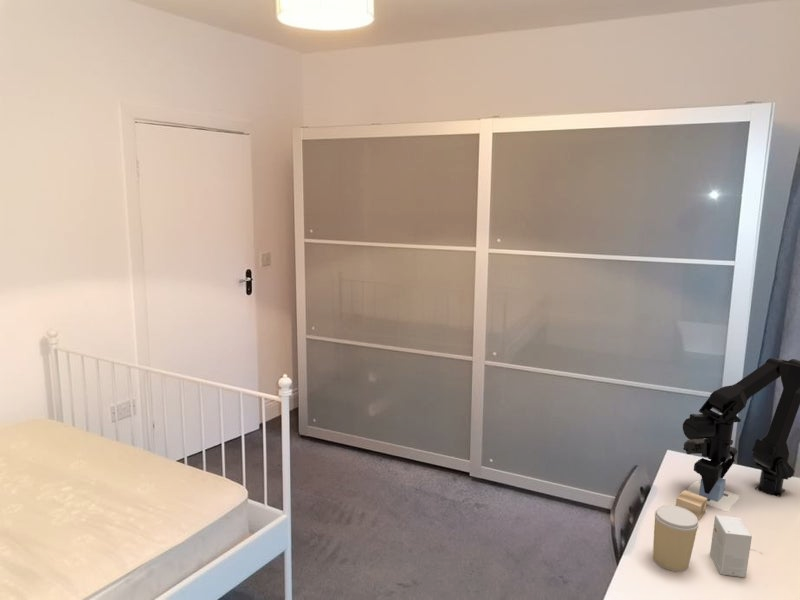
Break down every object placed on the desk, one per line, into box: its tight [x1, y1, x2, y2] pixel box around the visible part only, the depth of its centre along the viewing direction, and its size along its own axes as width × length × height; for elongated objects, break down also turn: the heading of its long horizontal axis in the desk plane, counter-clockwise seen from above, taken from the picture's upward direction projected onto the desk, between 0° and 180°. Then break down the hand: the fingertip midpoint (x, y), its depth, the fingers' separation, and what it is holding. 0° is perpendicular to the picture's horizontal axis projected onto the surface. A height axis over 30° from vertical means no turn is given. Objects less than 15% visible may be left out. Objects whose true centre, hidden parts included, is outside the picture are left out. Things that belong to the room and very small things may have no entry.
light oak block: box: [675, 490, 708, 522], centre depth 163 cm, size 6×6×5 cm
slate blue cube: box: [699, 477, 726, 502], centre depth 172 cm, size 5×5×5 cm
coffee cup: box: [652, 504, 700, 572], centre depth 142 cm, size 9×9×12 cm
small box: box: [709, 514, 753, 578], centre depth 141 cm, size 8×6×10 cm
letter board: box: [685, 480, 741, 513], centre depth 173 cm, size 12×12×1 cm
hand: (712, 487), depth 172 cm, fingers open, 9 cm apart
